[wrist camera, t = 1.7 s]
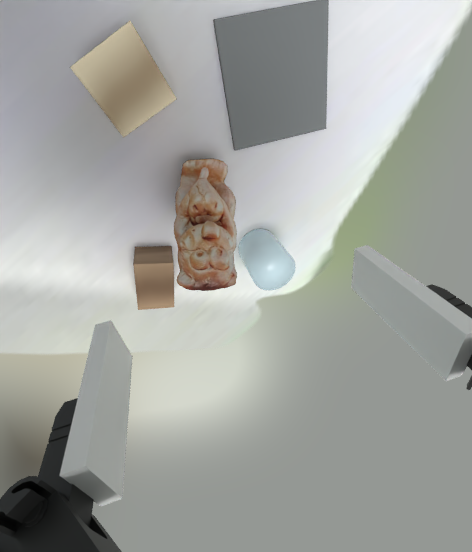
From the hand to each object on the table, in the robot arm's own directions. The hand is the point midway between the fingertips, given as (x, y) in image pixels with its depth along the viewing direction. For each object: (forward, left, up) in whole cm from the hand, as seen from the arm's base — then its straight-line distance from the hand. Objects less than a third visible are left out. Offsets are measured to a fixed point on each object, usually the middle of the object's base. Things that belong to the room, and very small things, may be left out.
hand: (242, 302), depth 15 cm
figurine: (0, 0, -19) cm, 19 cm away
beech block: (-10, -3, -19) cm, 22 cm away
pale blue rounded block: (+9, +6, -19) cm, 22 cm away
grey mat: (-8, +10, -19) cm, 23 cm away
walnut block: (+8, -7, -19) cm, 22 cm away
